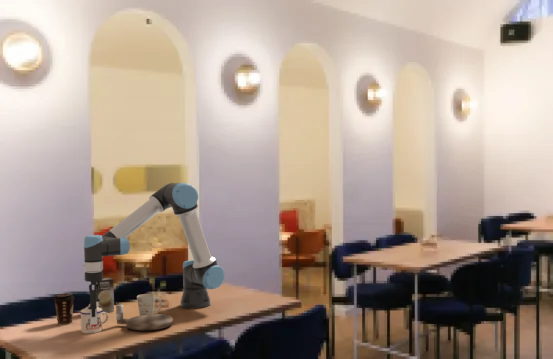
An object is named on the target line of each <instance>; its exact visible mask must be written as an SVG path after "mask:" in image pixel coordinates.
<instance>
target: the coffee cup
mask: <svg viewBox="0 0 553 359" xmlns="http://www.w3.org/2000/svg"><path fill="white" fill-rule="evenodd" d="M74 299H75V296H74V295H73V293H67V292H66V293H65V292H64V293H58V294H56V295H55V298H54V299H53V301H54V306H55V312H56V320H57V325H58V324H59V326H63V325H64V326H65V325H69V324H72V323H73V316H74V315H73V314H74V313H73V312H74Z"/></svg>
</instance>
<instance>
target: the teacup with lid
mask: <svg viewBox="0 0 553 359" xmlns="http://www.w3.org/2000/svg"><path fill="white" fill-rule="evenodd" d="M88 307H90V303H89V304H88V306H86V307H85V308H82V309H81V310H80V326H81V327H80V329H81V330H80V331H81V333H83V334H96V333H100V332H101V331H103V325H105V324H106V323H107V322H108V321H109V312H102V309H101V308H98V307H97V324H93V325H90V309H88ZM104 314H105V315H106V318H105V319H104V320H103V315H104Z"/></svg>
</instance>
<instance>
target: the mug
mask: <svg viewBox="0 0 553 359" xmlns="http://www.w3.org/2000/svg"><path fill="white" fill-rule="evenodd" d="M136 300H137V307H138V313H139V316H141V315H150V314H154V313H156V312H158V311H160V309H161V307H162V304H163V302H162V300H161V298H160V297H157V296H156V294H153V293H144V294H138V295H137V296H136ZM156 301H158V304H159V305H158V307H157V309H155V302H156Z"/></svg>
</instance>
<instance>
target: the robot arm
mask: <svg viewBox="0 0 553 359" xmlns="http://www.w3.org/2000/svg"><path fill="white" fill-rule="evenodd" d="M198 200H199V193H198V190H197V188H196V187H195V186H193V185H192V184H190V183H186V182H171V183H166V184H164V185H163V186H162V187H160V188H159V189H158V190H156V191H155V192H154V193H152V195H150V196H149V198H148V200H147V201H146V202H144V203H143V204H142V205H141V206H139V207H138V208H136V209H135V210H134V211H132V212H131V213H130V214H129V215H127V216H126V217H125V218H124V219H122V220H121V221H120V222H118V223H117V224H116V225H114V226H113V227H112V228H111V229H109V230H108V231H107V232H105V233H104V234H103V235H100V234H92V235H91V234H90V235H86V236H85V237H84V239H83V253H84V254H83V256H84V263H83V264H82V266H83V267H84V281H85V282H86V283H89V282H90V284H89V285H88V289H89V294H88V295H89V304H90V307H88V306H87V307H88V309H90V325H93V324H97V307H98V302H99V301H100V299H98V298H99V297H98V291H99V284H98V281H101V280H103V278H104V272H103V270H104V261H103V258H104V257H113V256H122V255H127V254H128V253H129V252H130V248H131V246H130V244H131V243H130V241H129V239H128V237H130V235H132V234H133V233H134V232H135V231H137V230H138V229H140V228H141V227H142V226H143V225H145V224H146V223H147V222H148V221H149V220H151V219H152V218H153V217H155V216H156V215H157V214H158V213H164V211H166V210H167V209H170V208H172V211H173V213H174V216H177V217H179V222H180V225H181V227H182V230H183V232H184V237H185V238H186V241H187V244H188V247H189V250H190V253H191V257H192V259H190V260H185V261H183V263H182V280H183V281H182V282H183V285H182V286H183V290H182V295H181V298H180V307H181V308H183V309H201V308H207V307H210V306H211V298H210V295H209V292H208V290H216V289H218V288H220V287H221V286H222V284H223V283H224V281H225V276H226V274H225V270H224V269H223V267H222V266H220V265H218V260H217V258H216V257H214V256H212V254H211V252H210V248H209V245H208V243H207V240H206V236H205V233H204V231H203V227H202V225H201V221H200V219H199V216H198V213H197V210H198V208H199V205H198ZM206 306H207V307H206Z"/></svg>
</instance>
